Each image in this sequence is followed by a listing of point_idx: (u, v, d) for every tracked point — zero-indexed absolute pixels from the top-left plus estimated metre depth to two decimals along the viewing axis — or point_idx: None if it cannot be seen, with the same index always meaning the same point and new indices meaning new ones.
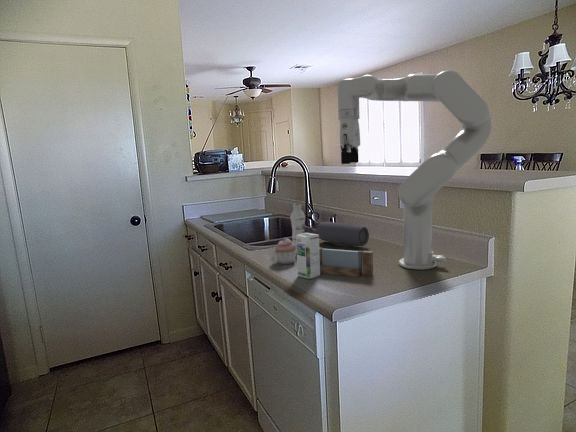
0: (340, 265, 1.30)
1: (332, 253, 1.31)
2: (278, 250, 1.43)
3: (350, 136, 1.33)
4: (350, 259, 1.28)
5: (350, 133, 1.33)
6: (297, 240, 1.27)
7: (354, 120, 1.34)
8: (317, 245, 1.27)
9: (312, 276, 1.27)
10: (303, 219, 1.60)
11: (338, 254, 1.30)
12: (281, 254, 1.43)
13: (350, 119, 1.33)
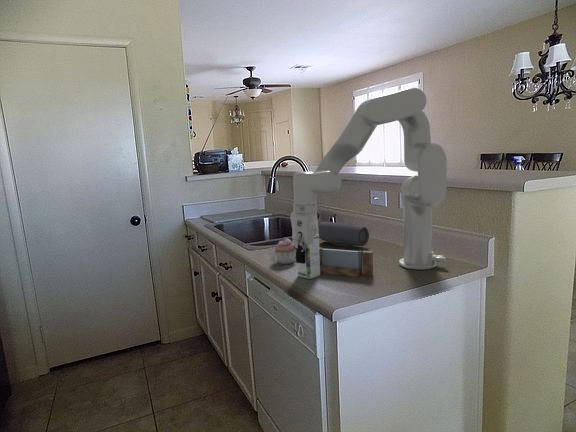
0: (340, 265, 1.30)
1: (332, 253, 1.31)
2: (278, 250, 1.43)
3: (305, 235, 1.22)
4: (350, 259, 1.28)
5: (305, 232, 1.21)
6: None
7: (310, 216, 1.23)
8: (317, 245, 1.27)
9: (312, 276, 1.27)
10: None
11: (338, 254, 1.30)
12: (281, 254, 1.43)
13: (305, 216, 1.21)
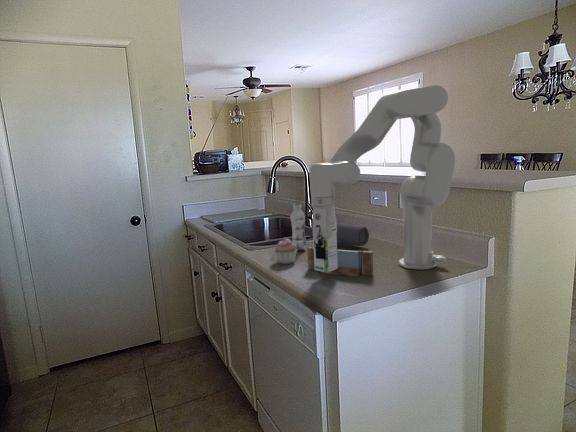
0: (340, 265, 1.30)
1: None
2: (278, 250, 1.43)
3: (324, 228, 1.17)
4: (350, 259, 1.28)
5: (324, 225, 1.17)
6: None
7: (328, 209, 1.19)
8: (334, 237, 1.22)
9: (330, 270, 1.22)
10: (303, 219, 1.60)
11: (338, 254, 1.30)
12: (281, 254, 1.43)
13: (324, 209, 1.17)
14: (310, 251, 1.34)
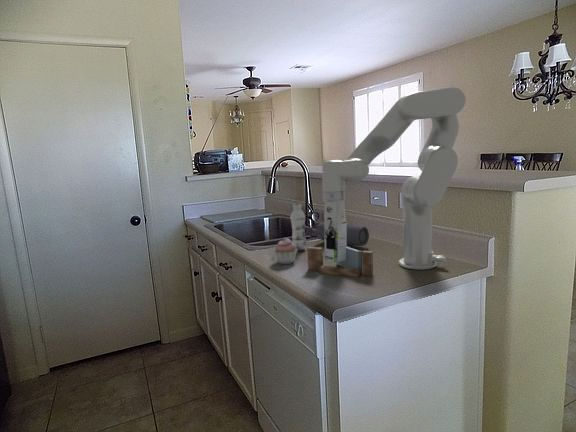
0: (347, 262, 1.34)
1: None
2: (278, 250, 1.43)
3: (335, 220, 1.26)
4: (353, 257, 1.30)
5: (335, 217, 1.26)
6: None
7: (339, 203, 1.28)
8: (344, 230, 1.31)
9: (339, 260, 1.31)
10: (303, 219, 1.60)
11: None
12: (281, 254, 1.43)
13: (335, 203, 1.26)
14: (310, 251, 1.34)
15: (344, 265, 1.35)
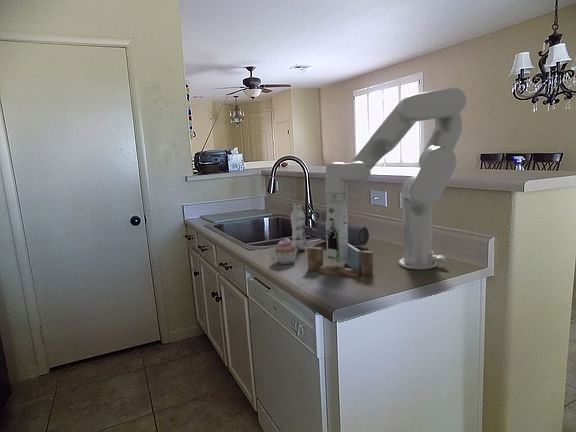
0: (351, 261, 1.34)
1: (348, 248, 1.36)
2: (278, 250, 1.43)
3: (337, 221, 1.30)
4: (355, 257, 1.30)
5: (337, 218, 1.30)
6: (326, 225, 1.35)
7: (341, 204, 1.31)
8: (345, 230, 1.35)
9: (341, 259, 1.34)
10: (303, 219, 1.60)
11: (350, 250, 1.34)
12: (281, 254, 1.43)
13: (337, 204, 1.29)
14: (310, 251, 1.34)
15: (349, 264, 1.36)
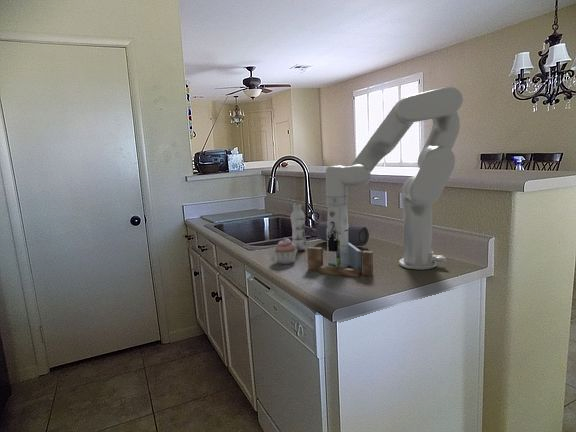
0: (352, 261, 1.34)
1: (349, 248, 1.37)
2: (278, 250, 1.43)
3: (337, 225, 1.30)
4: (355, 257, 1.31)
5: (337, 222, 1.30)
6: None
7: (342, 207, 1.31)
8: (346, 238, 1.35)
9: (342, 267, 1.35)
10: (303, 219, 1.60)
11: (351, 250, 1.34)
12: (281, 254, 1.43)
13: (338, 207, 1.30)
14: (310, 251, 1.34)
15: (351, 264, 1.36)
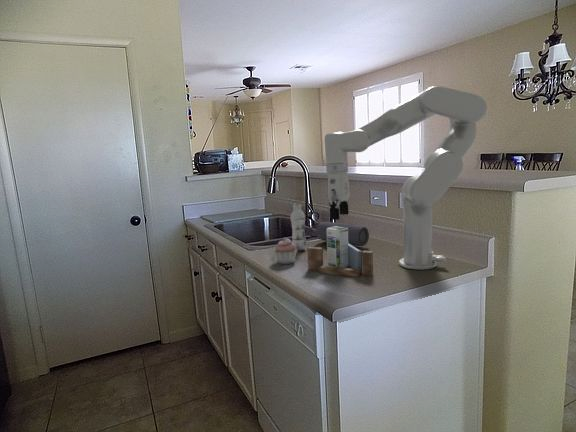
0: (351, 261, 1.34)
1: (348, 248, 1.36)
2: (278, 250, 1.43)
3: (338, 192, 1.28)
4: (355, 257, 1.30)
5: (338, 189, 1.28)
6: (327, 232, 1.36)
7: (342, 174, 1.29)
8: (346, 238, 1.35)
9: (342, 267, 1.35)
10: (303, 219, 1.60)
11: (350, 250, 1.34)
12: (281, 254, 1.43)
13: (338, 174, 1.28)
14: (310, 251, 1.34)
15: (349, 264, 1.36)
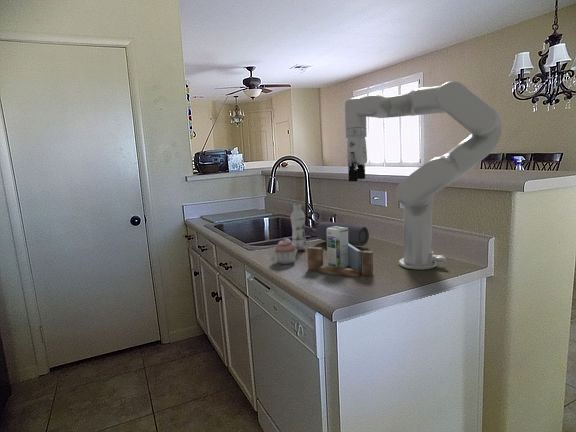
0: (351, 261, 1.34)
1: (348, 248, 1.36)
2: (278, 250, 1.43)
3: (357, 154, 1.35)
4: (355, 257, 1.30)
5: (357, 151, 1.35)
6: (327, 232, 1.36)
7: (361, 138, 1.36)
8: (346, 238, 1.35)
9: (341, 267, 1.35)
10: (303, 219, 1.60)
11: (350, 250, 1.34)
12: (281, 254, 1.43)
13: (357, 137, 1.35)
14: (310, 251, 1.34)
15: (349, 264, 1.36)
